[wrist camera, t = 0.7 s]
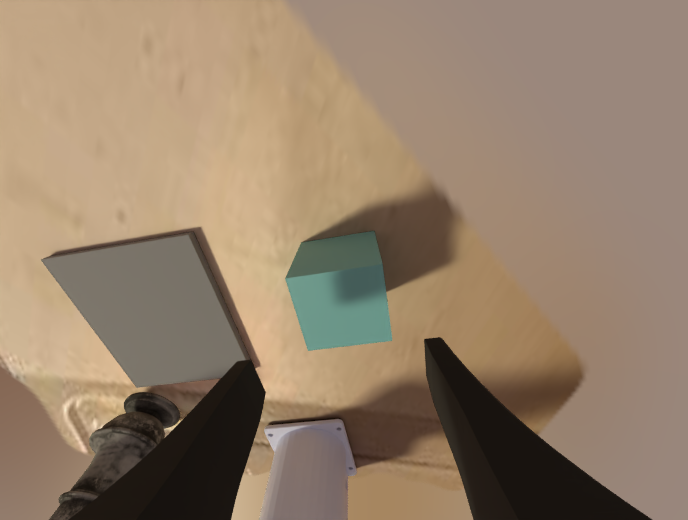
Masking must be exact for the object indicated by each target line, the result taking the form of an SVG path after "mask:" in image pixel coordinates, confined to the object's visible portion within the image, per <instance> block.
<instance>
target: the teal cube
mask: <svg viewBox="0 0 688 520" xmlns="http://www.w3.org/2000/svg"><path fill="white" fill-rule="evenodd" d="M285 279H286V282H287V285H288V289H289V292H290V295H291V298H292V301H293V305H294V308H295V311H296V314H297V317H298V320H299V324H300V327H301V330H302V333H303V336H304V339H305V343H306V346H307V349H308V351H310V350H318V349H327V348H335V347H344V346H352V345H360V344H369V343H377V342H385V341H392V334H391V326H390V318H389V311H388V303H387V295H386V287H385V279H384V271H383V264H382V260H381V256H380V252H379V248H378V244H377V240H376V235H375V231H370V232H364V233H358V234H351V235H345V236H339V237H333V238H326V239H320V240H314V241H307V242H301V244H300V247H299V249H298V251H297V253H296V256H295V258H294V260H293V262H292V265H291V267H290V269H289V271H288V274H287V276H286V278H285Z"/></svg>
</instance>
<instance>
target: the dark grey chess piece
mask: <svg viewBox="0 0 688 520" xmlns="http://www.w3.org/2000/svg"><path fill="white" fill-rule="evenodd" d="M124 409H125V411H126V413H125V414H122V415H119V416H117V417H116V418H114V419H113V420H111V421H110V422H108V423H107V424H105V425H104V426H103V428H101V429H98V430H96V431H95V432H94V433H92V435H91V437H90V438H89V442H90V446H91V448H92V450H93V451H94V452H95V453H96V454H95V456H94V458H93V461H92V462H91V464H90V466H89V467H88V469H87V470H86V471H85V472H84V474H83V475H82V476H81V478H80V479H79V480H78V481H77V483H76V484H75V485H74V486H73V488H72V489H71V490H70V491H69V492H66V493H63V494H62V495H61V496H60V497H59V503H60V506H59V507H58V509H57V510H56V511H55V512H54V514H53V515H52V516H51V518H50V519H49V520H69V519H70V518H71V517H73V516H74V515H75V514H76V513H78V512H79V511H80V510H82V509H83V508H84V507H85V506H87V505H88V504H89V503H91V502H92V501H93V500H94V499H96V498H97V497H98V496H99V495H101V494H102V493H103V492H104V491H105V490H107V489H108V488H109V487H110V486H111V485H113V484H114V483H115V482H116V481H117V480H119V479H120V478H121V477H122V476H123V475H125V474H126V473H127V472H128V471H129V470H130V469H132V468H133V467H134V466H135V465H136V464H137V463H138V462H140V461H141V460H142V459H143V458H144V457H145V456H146V455H147V454H148V453H149V452H151V451H152V450H153V449H154V448H155V447H156V446H157V445H158V444H159V443H160V442H161V441H162V440H163V439H164V437H165V432H164V428H168V427H172V426H173V425H175V424H176V423H177V422H178V421H179V418H180V413H179V410H178V409H177V407H176V406H175V405H174V404H173V403H172V402H171V401H169V400H167V399H166V398H164V397H162V396H159V395H156V394H152V393H135V394H132V395H130V396H129V397H128V398H127V399H126V400H125V402H124Z"/></svg>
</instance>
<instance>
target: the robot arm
mask: <svg viewBox="0 0 688 520" xmlns="http://www.w3.org/2000/svg"><path fill="white" fill-rule="evenodd" d="M424 344H425V361H426V376H427V380H428V384H429V388H430V391H431V395H432V399H433V402H434V405H435V408H436V411H437V413H438V416H439V419H440V421H441V424H442V427H443V429H444V432H445V435H446V437H447V440H448V443H449V445H450V448H451V451H452V453H453V456H454V459H455V461H456V464H457V467H458V470H459V473H460V476H461V479H462V482H463V485H464V489H465V492H466V495H467V499H468V502H469V506H470V509H471V513H472V516H473V519H474V520H652V519H650V518H649V517H648V516H646V515H645V514H643V513H642V512H640V511H639V510H637V509H636V508H634V507H633V506H631V505H630V504H628V503H627V502H625V501H624V500H623V499H621V498H620V497H618V496H617V495H616V494H614V493H613V492H611V491H610V490H608V489H607V488H606V487H604V486H603V485H601V484H600V483H599V482H597V481H596V480H595V479H593V478H592V477H591V476H589V475H588V474H587V473H585V472H584V471H583V470H581V469H580V468H579V467H577V466H576V465H575V464H573V463H572V462H571V461H569V460H568V459H567V458H565V457H564V456H563V455H562V454H560V453H559V452H558V451H556V450H555V449H554V448H552V447H551V446H550V445H549V444H548V443H546V442H545V441H544V440H543V439H541V438H540V437H539V436H538V435H537V434H535V433H534V432H533V431H532V430H531V429H530V428H528V427H527V426H526V425H525V424H524V423H523V422H521V421H520V420H519V419H518V418H517V417H516V416H515V415H513V414H512V413H511V412H510V411H509V410H508V409H507V408H506V407H505V406H504V405H503V404H502V403H501V402H499V401H498V400H497V399H496V398H495V397H494V396H493V395H492V394H491V393H490V392H489V391H488V390H487V389H486V388H485V387H484V386H483V385H482V384H481V383H480V382H479V381H478V379H477V378H476V377H475V376H474V375H473V374H472V373H471V372H470V371H469V370H468V369H467V368H466V367H465V366H464V364H463V363H462V362H461V361H460V360H459V359H458V358H457V356H456V355H455V354H454V353H453V352H452V350H451V349H450V348H449V347H448V345H447V344H446V343H445V341H444V340H443V339H442V338H440V337H438V338H430V339H424ZM265 393H266V392H265V390H264V388H263V385H262V383H261V381H260V379H259V377H258V374H257V372H256V370H255V368H254V365H253V363H252V361H251V360H242V361H237V362H236V363H235V364H234V365H233V366H232V367H231V368H230V369H229V370H228V371H227V373H226V374H225V375H224V376H223V377H222V378H221V379H220V380H219V381H218V383H217V384H216V385H215V386H214V387H213V388H212V389H211V390H210V391H209V393H208V394H207V395H206V396H205V397H204V398H203V399H202V400H201V401H200V402H199V403H198V405H197V406H196V407H195V408H194V409H193V410H192V411H191V412H190V413H189V414H188V415H187V416H186V417H185V418H184V419H183V420H182V421H181V422H180V423H179V424H178V425H177V426H176V427H175V428H174V429H173V430H172V431H171V432H170V434H168V435H167V436H166V437H165V438H164V439H163V440H162V441H161V442H160V443H159V444H158V445H157V446H156V447H155V448H154V449H153V450H152V451H151V452H149V453H148V454H147V455H146V456H145V457H144V458H143V459H142V460H141V461H140V462H138V463H137V464H136V465H135V466H134V467H133V468H132V469H130V470H129V471H128V472H127V473H126V474H125V475H123V476H122V477H121V478H120V479H119V480H117V481H116V482H115V483H114V484H113V485H111V486H110V487H109V488H108V489H107V490H105V491H104V492H103V493H102V494H101V495H99V496H98V497H97V498H96V499H94V500H93V501H92V502H91V503H89V504H88V505H87V506H85V507H84V508H83V509H82V510H80V511H79V512H78V513H76V514H75V515H74V516H73V517H71V518H70V519H69V520H231V517H232V513H233V508H234V504H235V499H236V496H237V492H238V489H239V485H240V482H241V478H242V475H243V472H244V469H245V466H246V463H247V460H248V457H249V454H250V451H251V447H252V444H253V441H254V438H255V435H256V432H257V428H258V425H259V422H260V419H261V414H262V409H263V404H264V399H265ZM264 432H265V434H266V436H267V438H268V440H269V442H270V444H271V446H272V448H273V450H274V452H275V454H274V458H273V462H272V467H271V471H270V475H269V479H268V484H267V488H266V492H265V496H264V501H263V505H262V509H261V513H260V518H259V520H348V476H354V475H356V474H357V469H356V466H355V462H354V459H353V455H352V451H351V448H350V444H349V441H348V437H347V434H346V430H345V427H344V423H343V421H342V420H341V419H332V420H321V421H310V422H299V423H289V424H278V425H268V426H266V427H265V429H264Z"/></svg>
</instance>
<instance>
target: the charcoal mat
mask: <svg viewBox="0 0 688 520" xmlns="http://www.w3.org/2000/svg"><path fill="white" fill-rule="evenodd" d="M41 261H42V262H43V263H44V265H45V266H46V267H47V269H48V270H49V271H50V273H51V274H52V275H53V277H54V278H55V279H56V281H57V282H58V283H59V285H60V286H61V287H62V289H63V290H64V291H65V293H66V294H67V295H68V297H69V298H70V299H71V301H72V302H73V303H74V305H75V306H76V307H77V309H78V310H79V311H80V313H81V314H82V315H83V317H84V318H85V319H86V321H87V322H88V323H89V325H90V326H91V327H92V329H93V330H94V331H95V333H96V334H97V335H98V337H99V338H100V339H101V341H102V342H103V343H104V345H105V346H106V347H107V349H108V350H109V351H110V353H111V354H112V355H113V357H114V358H115V359H116V361H117V362H118V363H119V365H120V366H121V367H122V369H123V370H124V371H125V373H126V374H127V375H128V377H129V378H130V379H131V381H132V382H133V383H134V385H135V386H136V387H137V388H138V387H147V386H156V385H165V384H174V383H183V382H192V381H201V380H210V379H218V378H222V377H223V376H224V375H225V374H226V373H227V371H228V370H229V369H230V368H231V367H232V366H233V365H234V364H235V363H236V362H237V361H242V360H251V359H250V357H249V355H248V353H247V350H246V348H245V346H244V344H243V342H242V339H241V337H240V335H239V333H238V330H237V328H236V326H235V324H234V322H233V319H232V317H231V315H230V313H229V310H228V308H227V306H226V304H225V301H224V299H223V297H222V295H221V293H220V290H219V288H218V286H217V284H216V281H215V279H214V277H213V275H212V273H211V270H210V268H209V266H208V264H207V261H206V259H205V257H204V255H203V252H202V250H201V248H200V246H199V244H198V241H197V239H196V237H195V235H194V232H188V233H182V234H176V235H170V236H165V237H159V238H153V239H147V240H141V241H135V242H129V243H124V244H118V245H112V246H106V247H100V248H94V249H88V250H82V251H77V252H71V253H65V254H59V255H53V256H49V257H46V258H44V259H41Z"/></svg>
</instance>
